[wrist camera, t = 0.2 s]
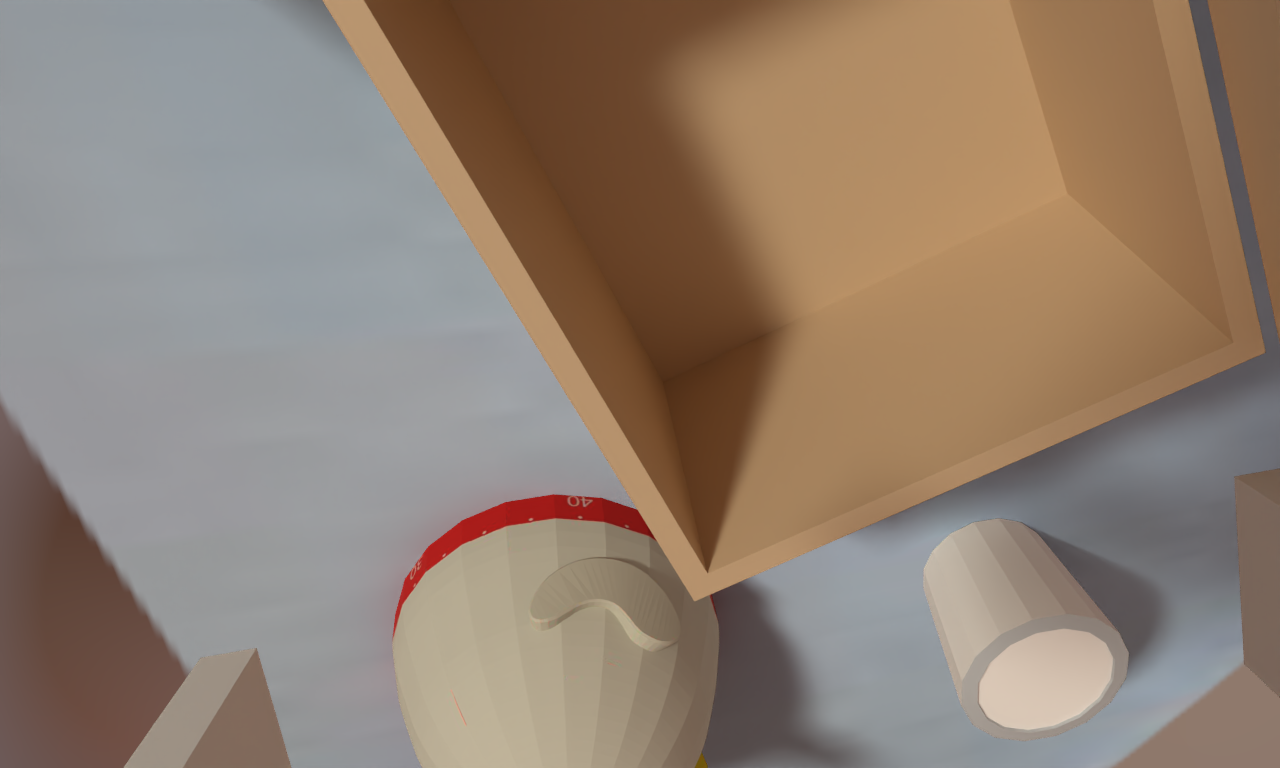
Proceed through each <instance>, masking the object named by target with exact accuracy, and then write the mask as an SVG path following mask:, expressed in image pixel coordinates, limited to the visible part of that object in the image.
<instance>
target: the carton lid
mask: <svg viewBox="0 0 1280 768" xmlns="http://www.w3.org/2000/svg"><path fill="white" fill-rule="evenodd" d="M1207 1H1208V6H1209V10H1210V15H1211V20H1212V25H1213V29H1214V34H1215V39H1216V44H1217V48H1218V53H1219V58H1220V63H1221V67H1222V72H1223V77H1224V81H1225V86H1226V91H1227V96H1228V100H1229V105H1230V110H1231V115H1232V119H1233V124H1234V129H1235V134H1236V138H1237V143H1238V148H1239V153H1240V157H1241V162H1242V167H1243V172H1244V176H1245V181H1246V186H1247V190H1248V195H1249V200H1250V205H1251V209H1252V214H1253V219H1254V224H1255V228H1256V233H1257V238H1258V243H1259V247H1260V252H1261V257H1262V262H1263V266H1264V271H1265V276H1266V281H1267V285H1268V290H1269V295H1270V299H1271V304H1272V309H1273V314H1274V318H1275V323H1276V328H1277V333H1278V337H1279V342H1280V0H1207Z"/></svg>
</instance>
